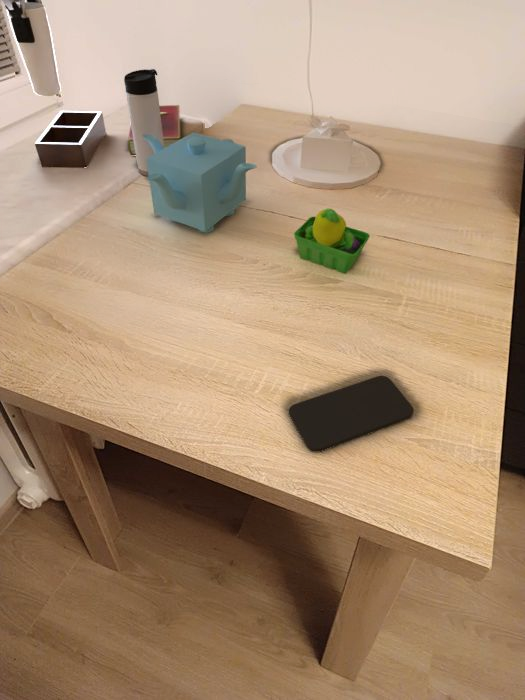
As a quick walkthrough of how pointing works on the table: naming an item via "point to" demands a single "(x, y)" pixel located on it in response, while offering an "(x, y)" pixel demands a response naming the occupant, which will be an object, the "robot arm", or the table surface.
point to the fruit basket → (330, 241)
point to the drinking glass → (39, 52)
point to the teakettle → (197, 179)
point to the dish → (326, 158)
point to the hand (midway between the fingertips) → (33, 36)
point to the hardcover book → (164, 127)
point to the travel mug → (143, 113)
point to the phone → (349, 412)
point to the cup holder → (71, 139)
